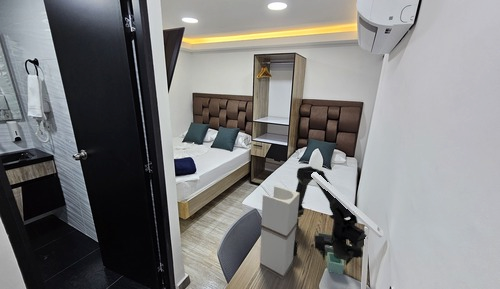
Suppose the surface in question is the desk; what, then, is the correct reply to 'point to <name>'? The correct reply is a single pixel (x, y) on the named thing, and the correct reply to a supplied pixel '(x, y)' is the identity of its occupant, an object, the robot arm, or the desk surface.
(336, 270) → the teal crate
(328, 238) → the grey square tray
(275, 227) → the white pencil holder
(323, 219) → the desk surface
